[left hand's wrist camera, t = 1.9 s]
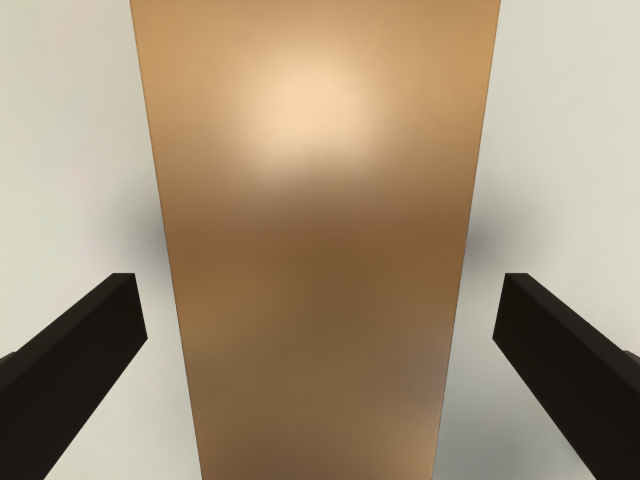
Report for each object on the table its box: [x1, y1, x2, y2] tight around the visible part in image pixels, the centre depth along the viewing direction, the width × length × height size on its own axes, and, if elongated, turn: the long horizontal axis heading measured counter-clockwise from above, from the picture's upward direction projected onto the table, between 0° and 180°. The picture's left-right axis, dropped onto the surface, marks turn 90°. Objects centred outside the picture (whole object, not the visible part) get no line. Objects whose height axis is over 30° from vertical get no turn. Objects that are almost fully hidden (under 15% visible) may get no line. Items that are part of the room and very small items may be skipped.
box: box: [130, 0, 501, 480], centre depth 12 cm, size 25×7×10 cm, turn 0°
